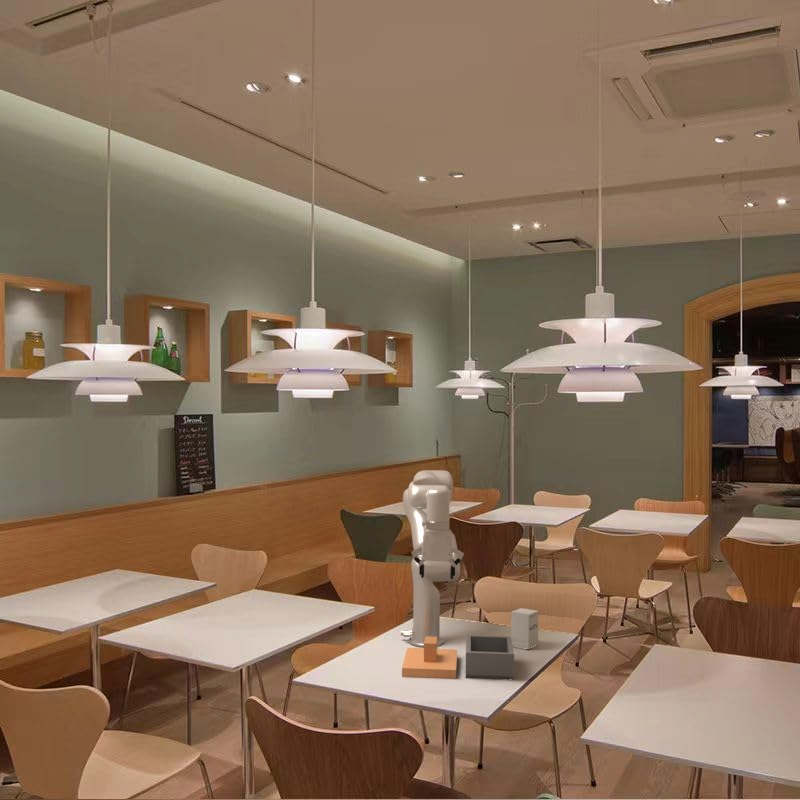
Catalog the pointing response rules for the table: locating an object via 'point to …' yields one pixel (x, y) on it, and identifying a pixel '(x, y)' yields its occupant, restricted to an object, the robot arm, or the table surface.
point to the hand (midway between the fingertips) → (437, 577)
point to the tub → (489, 657)
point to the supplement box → (524, 628)
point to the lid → (430, 661)
